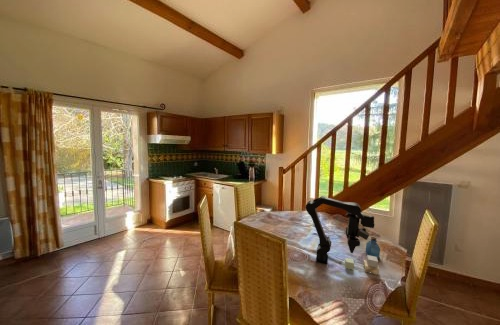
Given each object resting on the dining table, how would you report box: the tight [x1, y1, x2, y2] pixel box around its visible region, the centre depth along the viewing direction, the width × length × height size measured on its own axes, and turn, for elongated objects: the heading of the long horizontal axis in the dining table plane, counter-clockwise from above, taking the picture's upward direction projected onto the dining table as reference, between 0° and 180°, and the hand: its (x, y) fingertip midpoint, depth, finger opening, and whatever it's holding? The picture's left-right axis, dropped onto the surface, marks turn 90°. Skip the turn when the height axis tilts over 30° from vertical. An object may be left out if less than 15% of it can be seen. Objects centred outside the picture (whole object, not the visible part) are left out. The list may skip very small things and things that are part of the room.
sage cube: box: [344, 257, 355, 271], centre depth 129 cm, size 4×4×4 cm
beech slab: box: [362, 259, 380, 275], centre depth 126 cm, size 7×7×4 cm
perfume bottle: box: [365, 236, 381, 259], centre depth 142 cm, size 6×6×12 cm
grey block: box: [366, 254, 379, 268], centre depth 126 cm, size 5×5×4 cm
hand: (350, 249), depth 127 cm, fingers open, 9 cm apart
